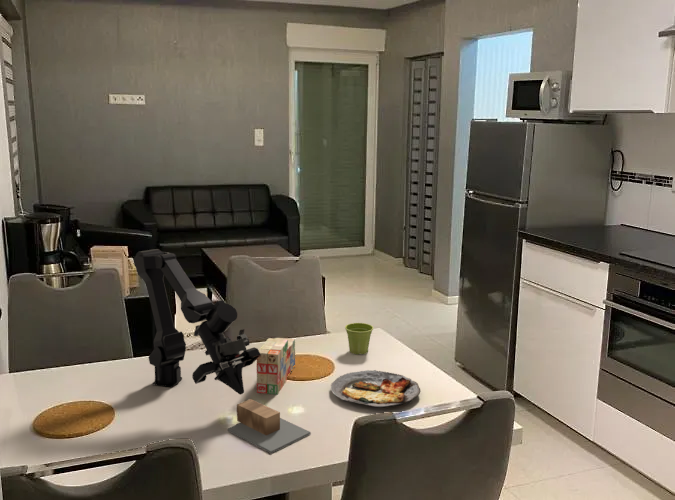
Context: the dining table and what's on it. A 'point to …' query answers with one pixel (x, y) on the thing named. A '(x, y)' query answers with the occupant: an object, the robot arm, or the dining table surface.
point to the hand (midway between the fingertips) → (242, 393)
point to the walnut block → (258, 417)
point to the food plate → (375, 388)
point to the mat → (271, 435)
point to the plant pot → (358, 337)
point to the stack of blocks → (275, 364)
